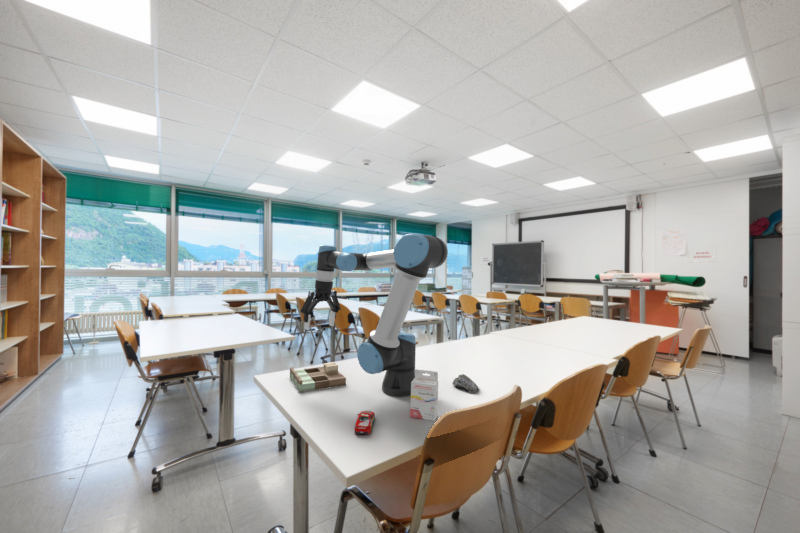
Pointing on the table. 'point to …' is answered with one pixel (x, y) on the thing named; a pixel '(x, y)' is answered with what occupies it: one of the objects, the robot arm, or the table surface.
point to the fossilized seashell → (465, 383)
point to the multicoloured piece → (315, 379)
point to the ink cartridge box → (424, 395)
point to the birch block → (330, 368)
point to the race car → (364, 422)
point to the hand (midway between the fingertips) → (319, 327)
